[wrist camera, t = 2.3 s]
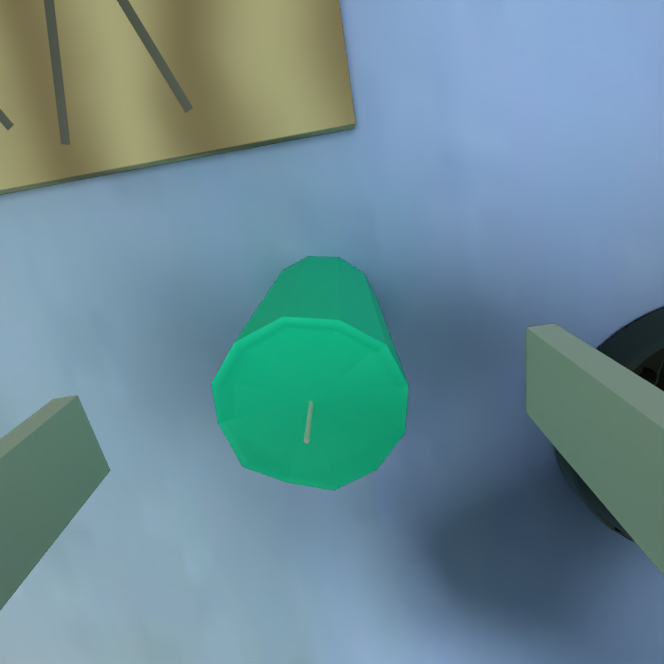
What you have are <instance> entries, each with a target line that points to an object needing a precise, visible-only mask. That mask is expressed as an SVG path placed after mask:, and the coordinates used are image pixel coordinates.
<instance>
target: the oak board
mask: <svg viewBox="0 0 664 664" xmlns="http://www.w3.org/2000/svg"><path fill="white" fill-rule="evenodd" d="M354 127H355V116H354V109H353V101H352V94H351V86H350V78H349V71H348V63H347V56H346V48H345V40H344V33H343V25H342V18H341V10H340V2H339V0H0V195H1V194H6V193H11V192H17V191H22V190H28V189H33V188H38V187H44V186H49V185H54V184H60V183H65V182H70V181H76V180H81V179H86V178H92V177H97V176H102V175H108V174H113V173H118V172H124V171H129V170H135V169H140V168H145V167H151V166H156V165H161V164H167V163H172V162H177V161H183V160H188V159H193V158H199V157H204V156H209V155H215V154H220V153H225V152H231V151H236V150H242V149H247V148H252V147H258V146H263V145H268V144H274V143H279V142H284V141H290V140H295V139H300V138H306V137H311V136H316V135H322V134H327V133H333V132H338V131H343V130H349V129H354Z"/></svg>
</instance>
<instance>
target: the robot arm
mask: <svg viewBox="0 0 664 664" xmlns="http://www.w3.org/2000/svg"><path fill="white" fill-rule="evenodd" d="M526 413H527V414H528V416H529V417H530V418H531V419H532V420H533V421H534V423H535V424H536V425H537V426H538V427H539V429H540V430H541V431H542V432H543V433H544V434H545V436H546V437H547V438H548V439H549V440H550V442H551V443H552V444H553V445H554V446H555V449H556V455H557V460H558V463H559V466H560V468H561V471H562V473H563V475H564V477H565V478H566V480H567V481H568V483H569V484H570V486H571V487H572V488H573V489H574V491H575V492H576V493H577V494H578V496H579V497H580V498H581V500H582V501H583V502H584V503H585V505H586V506H587V507H588V508H589V509H590V511H591V512H592V513H593V514H594V515H595V516H596V517H597V518H598V519H600V520H601V521H602V522H603V523H604V524H605V525H607V526H608V527H609V528H611V529H612V530H614V531H616V532H617V533H619V534H621V535H622V536H624V537H625V538H627V539H629V540H632V541H634V542H636V543H637V544H638V546H639V547H640V548H641V549H642V550H643V552H644V553H645V554H646V555H647V556H648V557H649V559H650V560H651V561H652V562H653V563H654V565H655V566H656V567H657V568H658V569H659V570H660V572H661V573H662V574H663V575H664V308H662V309H659V310H657V311H655V312H653V313H651V314H648V315H647V316H645V317H643V318H641V319H639V320H637V321H636V322H634V323H632V324H631V325H629V326H627V327H626V328H624V329H623V330H621V331H620V332H619V333H617V334H616V335H615V336H613V337H612V338H611V339H610V340H608V341H607V342H606V343H605V344H604V345H603V346H602V347H601V348H599V349H598V350H597V349H595V348H593V347H592V346H590V345H589V344H587V343H585V342H584V341H582V340H581V339H579V338H577V337H576V336H574V335H573V334H571V333H569V332H568V331H566V330H565V329H563V328H561V327H560V326H558V325H557V324H555V323H552V324H546V325H539V326H533V327H526ZM109 471H110V468H109V466H108V464H107V461H106V459H105V457H104V454H103V452H102V450H101V448H100V445H99V443H98V441H97V439H96V436H95V434H94V432H93V429H92V427H91V425H90V423H89V420H88V418H87V416H86V413H85V411H84V409H83V407H82V404H81V402H80V400H79V397H78V395H77V396H70V397H63V398H57V399H53V400H51V401H50V402H49V403H47V404H46V405H45V406H43V407H42V408H41V409H40V410H38V411H37V412H36V413H34V414H33V415H32V416H30V417H29V418H28V419H26V420H25V421H24V422H22V423H21V424H20V425H19V426H17V427H16V428H15V429H13V430H12V431H11V432H9V433H8V434H7V435H5V436H4V437H3V438H1V439H0V610H1V609H2V608H3V607H4V605H5V604H6V603H7V601H8V600H9V599H10V598H11V596H12V595H13V594H14V593H15V591H16V590H17V589H18V587H19V586H20V585H21V584H22V582H23V581H24V580H25V578H26V577H27V576H28V575H29V573H30V572H31V571H32V570H33V568H34V567H35V566H36V564H37V563H38V562H39V561H40V559H41V558H42V557H43V556H44V554H45V553H46V552H47V550H48V549H49V548H50V547H51V545H52V544H53V543H54V542H55V540H56V539H57V538H58V536H59V535H60V534H61V533H62V531H63V530H64V529H65V528H66V526H67V525H68V524H69V522H70V521H71V520H72V519H73V517H74V516H75V515H76V513H77V512H78V511H79V510H80V508H81V507H82V506H83V505H84V503H85V502H86V501H87V499H88V498H89V497H90V496H91V494H92V493H93V492H94V491H95V489H96V488H97V487H98V485H99V484H100V483H101V482H102V480H103V479H104V478H105V477H106V475H107V474H108V473H109Z"/></svg>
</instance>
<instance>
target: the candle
mask: <svg viewBox="0 0 664 664" xmlns="http://www.w3.org/2000/svg"><path fill="white" fill-rule="evenodd" d="M211 386H212V392H213V397H214V403H215V409H216V414H217V420H218V424H219V426H220V428H221V429H222V431H223V433H224V435H225V436H226V438H227V440H228V442H229V443H230V445H231V447H232V449H233V451H234V452H235V454H236V456H237V458H238V459H239V461H240V463H241V465H242V466H243V467H245V468H248V469H251V470H253V471H256V472H259V473H262V474H265V475H267V476H270V477H273V478H276V479H279V480H282V481H284V482H288V483H294V484H299V485H305V486H311V487H316V488H322V489H328V490H333V491H334V490H336V489H338V488H340V487H342V486H344V485H346V484H348V483H350V482H352V481H354V480H357V479H359V478H361V477H363V476H365V475H367V474H369V473H371V472H373V471H375V470H377V469H378V467H379V466H380V465H381V464H382V462H383V461H384V460H385V458H386V457H387V456H388V455H389V453H390V452H391V451H392V449H393V448H394V447H395V445H396V444H397V443H398V442H399V440H400V439H401V438H402V436H403V435H404V434H405V425H406V413H407V401H408V389H409V385H408V383H407V380H406V377H405V374H404V372H403V369H402V366H401V363H400V361H399V358H398V355H397V353H396V350H395V347H394V344H393V342H392V339H391V336H390V333H389V331H388V328H387V325H386V323H385V320H384V317H383V314H382V312H381V309H380V306H379V303H378V301H377V298H376V296H375V294H374V292H373V290H372V288H371V286H370V285H369V283H368V281H367V279H366V277H365V275H364V273H363V272H361V271H360V270H358V269H357V268H355V267H353V266H352V265H350V264H349V263H347V262H345V261H344V260H342V259H340V258H339V257H316V256H308V257H306V258H304V259H303V260H301V261H299V262H297V263H295V264H293V265H292V266H290V267H288V268H286V269H284V270H283V271H282V272H281V274H280V275H279V277H278V278H277V280H276V281H275V283H274V284H273V286H272V287H271V289H270V290H269V292H268V293H267V295H266V296H265V298H264V299H263V301H262V302H261V304H260V305H259V307H258V308H257V310H256V311H255V313H254V314H253V316H252V317H251V319H250V320H249V322H248V323H247V325H246V326H245V328H244V329H243V331H242V332H241V334H240V335H239V337H238V338H237V340H236V341H235V343H234V344H233V346H232V348H231V350H230V351H229V353H228V355H227V357H226V358H225V360H224V362H223V364H222V365H221V367H220V369H219V371H218V373H217V374H216V376H215V378H214V380H213V381H212V383H211Z"/></svg>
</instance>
